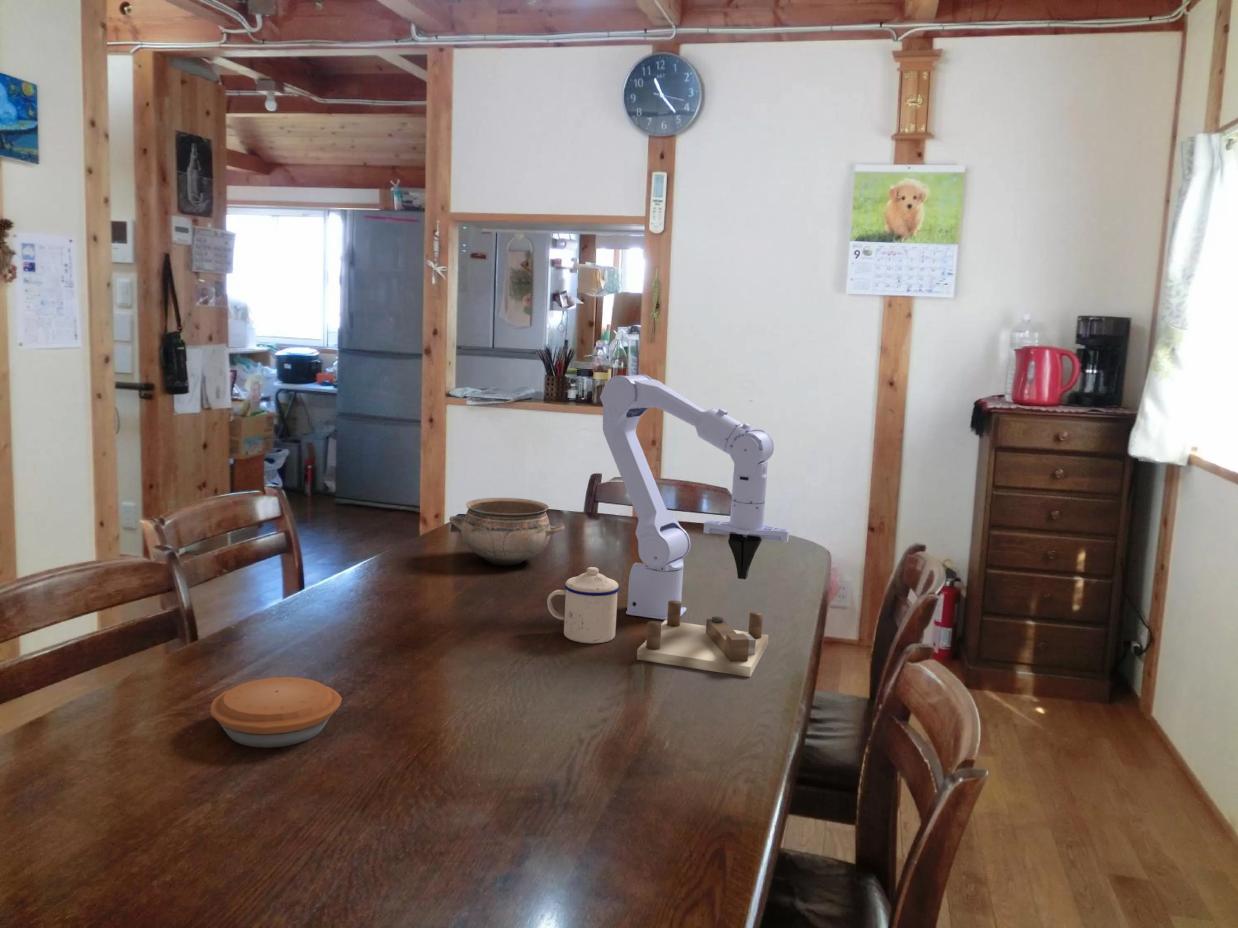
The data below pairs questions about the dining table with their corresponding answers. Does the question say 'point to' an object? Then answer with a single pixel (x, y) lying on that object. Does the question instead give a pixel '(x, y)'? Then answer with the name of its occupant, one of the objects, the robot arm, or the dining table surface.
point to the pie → (275, 711)
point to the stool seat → (698, 644)
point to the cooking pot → (506, 529)
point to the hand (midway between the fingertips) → (742, 577)
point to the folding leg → (728, 639)
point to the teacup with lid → (588, 607)
